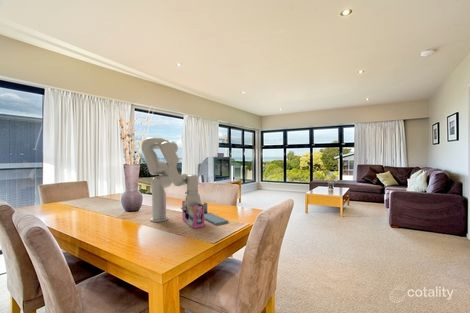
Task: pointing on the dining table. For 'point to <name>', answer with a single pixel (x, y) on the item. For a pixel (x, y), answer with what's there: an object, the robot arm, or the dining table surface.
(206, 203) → the metal canister
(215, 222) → the board
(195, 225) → the gum box
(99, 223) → the dining table surface
